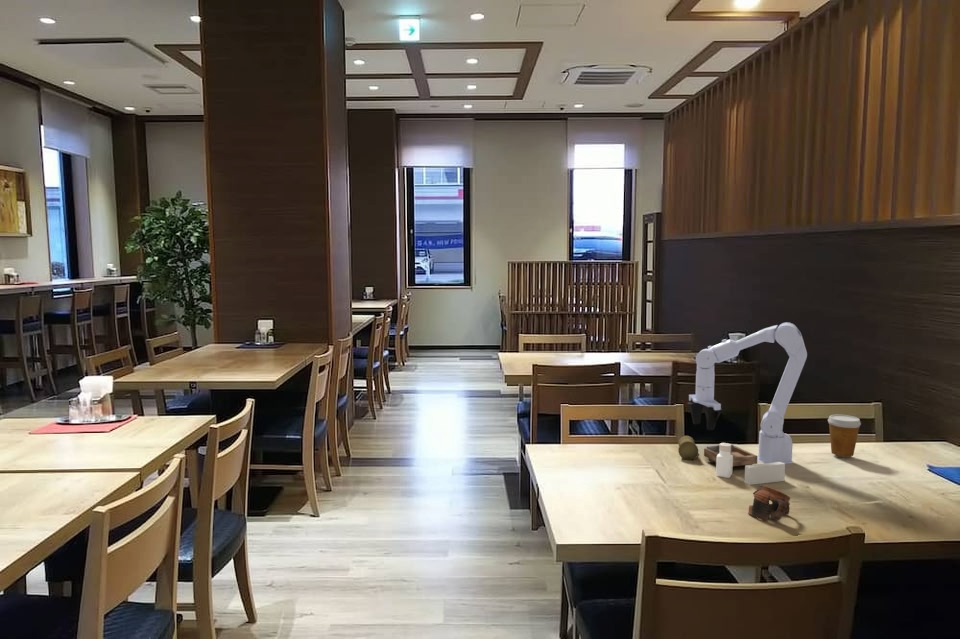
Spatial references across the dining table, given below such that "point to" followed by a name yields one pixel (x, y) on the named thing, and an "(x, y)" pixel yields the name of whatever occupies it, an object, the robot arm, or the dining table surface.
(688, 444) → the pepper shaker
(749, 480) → the block
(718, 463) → the pepper shaker
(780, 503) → the pottery mug
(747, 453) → the brown wooden square tray
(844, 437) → the disposable coffee cup
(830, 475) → the dining table surface
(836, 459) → the dining table surface
